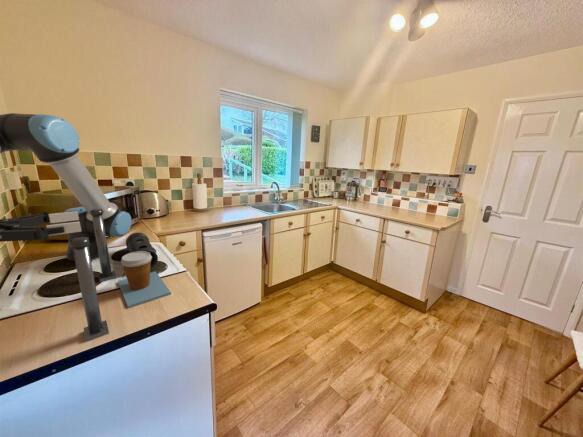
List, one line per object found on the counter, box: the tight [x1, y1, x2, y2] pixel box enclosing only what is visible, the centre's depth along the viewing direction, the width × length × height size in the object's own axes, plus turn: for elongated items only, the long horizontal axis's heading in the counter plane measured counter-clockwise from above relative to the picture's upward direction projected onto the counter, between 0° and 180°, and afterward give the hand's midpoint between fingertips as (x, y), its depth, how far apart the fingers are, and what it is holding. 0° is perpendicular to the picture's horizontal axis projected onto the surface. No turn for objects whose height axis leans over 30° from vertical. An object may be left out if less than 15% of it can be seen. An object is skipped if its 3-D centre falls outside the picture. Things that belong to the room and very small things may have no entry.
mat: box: [117, 271, 172, 309], centre depth 88 cm, size 20×13×1 cm, turn 43°
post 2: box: [90, 209, 117, 283], centre depth 90 cm, size 5×5×28 cm
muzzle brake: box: [125, 231, 159, 270], centre depth 109 cm, size 10×28×10 cm, turn 39°
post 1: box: [68, 237, 110, 343], centre depth 62 cm, size 5×5×28 cm
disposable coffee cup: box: [120, 251, 152, 290], centre depth 86 cm, size 10×10×12 cm
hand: (79, 220), depth 71 cm, fingers open, 13 cm apart
